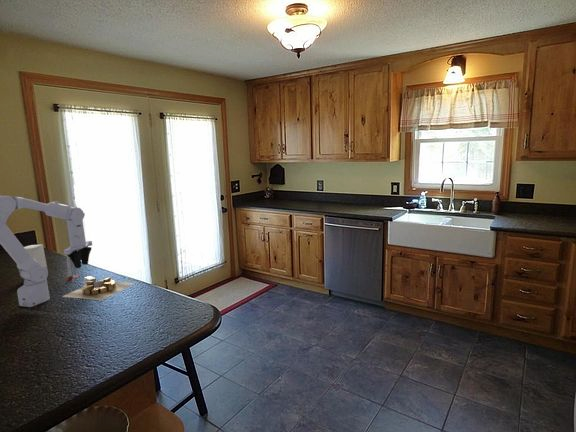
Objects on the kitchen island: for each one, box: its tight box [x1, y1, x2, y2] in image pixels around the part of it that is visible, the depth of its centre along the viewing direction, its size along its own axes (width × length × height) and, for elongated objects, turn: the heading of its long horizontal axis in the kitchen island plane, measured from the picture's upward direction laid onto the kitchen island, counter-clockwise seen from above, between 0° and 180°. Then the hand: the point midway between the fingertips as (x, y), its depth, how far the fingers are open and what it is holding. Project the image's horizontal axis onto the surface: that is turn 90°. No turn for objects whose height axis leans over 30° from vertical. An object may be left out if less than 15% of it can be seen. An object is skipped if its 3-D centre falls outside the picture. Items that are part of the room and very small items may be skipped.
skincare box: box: [23, 244, 48, 281], centre depth 170 cm, size 8×7×16 cm
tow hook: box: [64, 255, 79, 282], centre depth 166 cm, size 8×13×9 cm
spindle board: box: [62, 279, 135, 301], centre depth 148 cm, size 18×20×5 cm
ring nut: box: [81, 275, 116, 295], centre depth 148 cm, size 12×16×4 cm
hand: (81, 266), depth 152 cm, fingers open, 4 cm apart
